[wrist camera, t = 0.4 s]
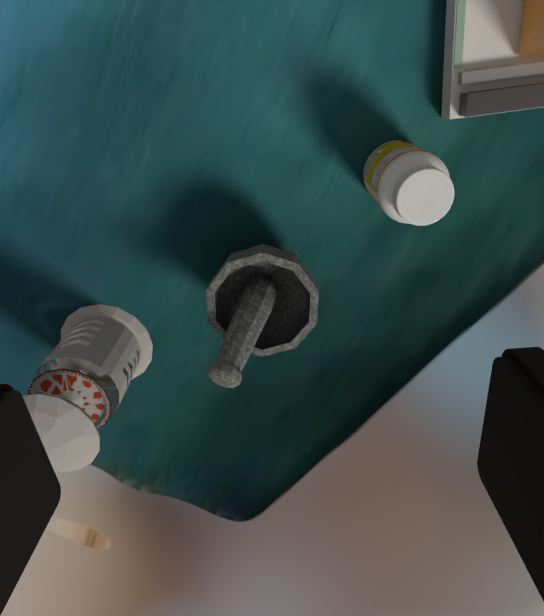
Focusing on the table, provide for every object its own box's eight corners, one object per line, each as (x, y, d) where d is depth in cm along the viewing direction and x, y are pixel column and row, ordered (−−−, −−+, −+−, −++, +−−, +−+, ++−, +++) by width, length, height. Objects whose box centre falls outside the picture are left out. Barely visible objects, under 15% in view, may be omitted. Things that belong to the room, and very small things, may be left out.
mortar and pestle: (254, 208, 41) (246, 252, 30) (333, 265, 43) (351, 325, 33) (190, 296, 45) (163, 363, 34) (265, 344, 48) (261, 420, 37)
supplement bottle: (356, 151, 39) (379, 171, 30) (418, 131, 38) (459, 145, 29) (369, 210, 41) (394, 244, 32) (428, 192, 40) (469, 221, 32)
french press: (171, 345, 48) (80, 576, 25) (108, 406, 52) (-20, 653, 29) (94, 285, 45) (-87, 489, 22) (33, 355, 48) (-174, 588, 26)
